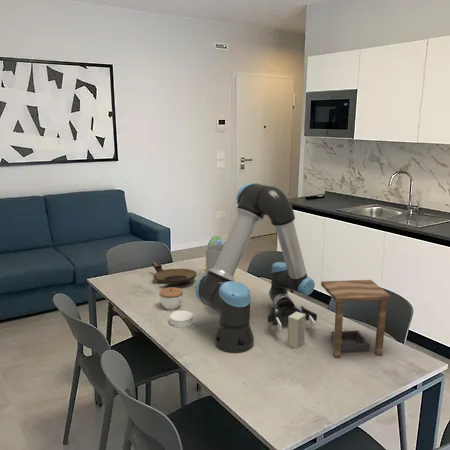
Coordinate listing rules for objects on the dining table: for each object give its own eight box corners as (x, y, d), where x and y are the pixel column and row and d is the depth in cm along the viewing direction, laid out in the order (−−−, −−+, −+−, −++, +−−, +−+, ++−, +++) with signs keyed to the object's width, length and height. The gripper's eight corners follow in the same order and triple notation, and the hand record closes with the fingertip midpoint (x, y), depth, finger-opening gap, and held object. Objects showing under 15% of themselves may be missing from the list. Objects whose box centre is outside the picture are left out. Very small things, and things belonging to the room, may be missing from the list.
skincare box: (295, 339, 178) (296, 310, 175) (305, 343, 175) (306, 314, 173) (286, 345, 173) (287, 316, 171) (296, 349, 171) (298, 319, 168)
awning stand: (385, 356, 166) (390, 296, 160) (332, 358, 164) (336, 298, 158) (366, 334, 182) (370, 279, 177) (318, 336, 180) (321, 281, 175)
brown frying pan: (163, 293, 225) (163, 279, 223) (144, 275, 251) (144, 262, 249) (204, 286, 235) (204, 272, 234) (182, 269, 261) (181, 257, 259)
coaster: (196, 319, 197) (196, 311, 196) (188, 329, 187) (188, 321, 187) (174, 316, 199) (174, 309, 198) (166, 326, 190) (165, 318, 189)
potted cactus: (198, 284, 238) (198, 238, 232) (209, 275, 252) (209, 231, 246) (226, 287, 233) (226, 241, 227) (235, 278, 247) (236, 233, 241)
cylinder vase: (202, 294, 224) (202, 245, 218) (226, 291, 228) (226, 243, 223) (211, 303, 213) (210, 252, 207) (235, 300, 217) (236, 250, 211)
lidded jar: (186, 309, 206) (185, 290, 204) (163, 313, 202) (162, 293, 200) (179, 301, 215) (179, 282, 213) (157, 304, 212) (156, 285, 209)
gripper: (311, 311, 197) (328, 334, 177) (255, 314, 195) (265, 337, 174) (312, 295, 196) (329, 316, 175) (256, 298, 193) (266, 319, 172)
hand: (297, 326), depth 175 cm, fingers open, 13 cm apart
